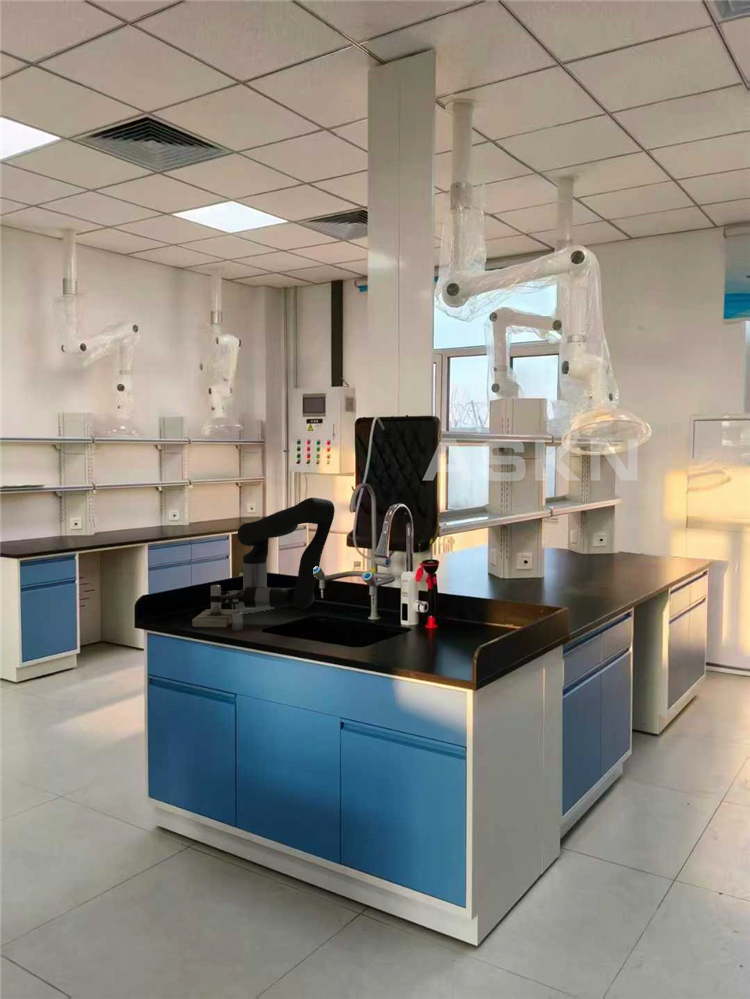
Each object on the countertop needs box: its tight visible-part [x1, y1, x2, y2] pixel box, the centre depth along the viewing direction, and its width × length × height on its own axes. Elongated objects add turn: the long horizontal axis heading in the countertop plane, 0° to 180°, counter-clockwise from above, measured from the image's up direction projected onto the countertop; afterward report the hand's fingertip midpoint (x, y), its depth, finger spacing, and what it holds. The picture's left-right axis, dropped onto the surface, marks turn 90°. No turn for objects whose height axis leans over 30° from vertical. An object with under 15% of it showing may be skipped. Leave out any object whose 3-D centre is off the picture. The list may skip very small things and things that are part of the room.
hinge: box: [231, 589, 275, 615], centre depth 302 cm, size 17×5×10 cm, turn 136°
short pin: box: [231, 612, 244, 632], centre depth 270 cm, size 4×4×6 cm
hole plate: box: [191, 608, 238, 628], centre depth 284 cm, size 18×12×2 cm, turn 177°
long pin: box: [210, 584, 222, 616], centre depth 283 cm, size 4×4×13 cm
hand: (213, 596), depth 283 cm, fingers open, 8 cm apart
